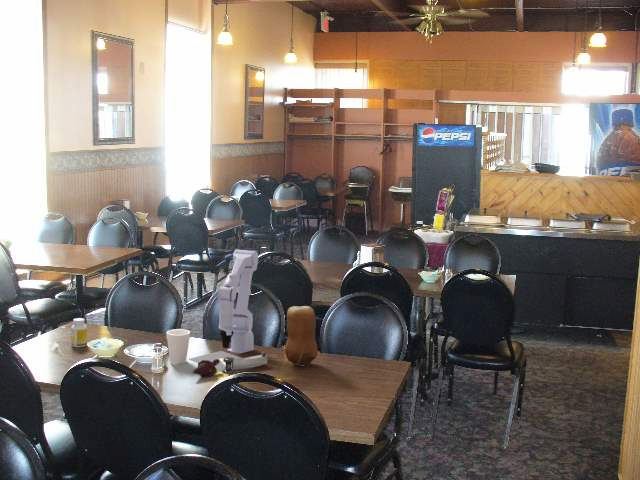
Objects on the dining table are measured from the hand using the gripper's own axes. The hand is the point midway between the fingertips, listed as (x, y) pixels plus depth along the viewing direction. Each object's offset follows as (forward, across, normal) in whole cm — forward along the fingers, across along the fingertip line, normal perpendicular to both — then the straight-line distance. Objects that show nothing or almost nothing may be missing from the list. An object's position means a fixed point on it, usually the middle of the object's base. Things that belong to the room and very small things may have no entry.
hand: (225, 347), depth 320 cm
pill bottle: (+7, +34, +58) cm, 68 cm away
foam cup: (+7, +3, +19) cm, 20 cm away
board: (+6, -1, 0) cm, 6 cm away
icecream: (+7, -16, +10) cm, 20 cm away
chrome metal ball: (+6, -13, +1) cm, 15 cm away
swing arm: (+5, -11, -6) cm, 13 cm away
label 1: (+6, 0, 0) cm, 6 cm away
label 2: (+6, -6, -1) cm, 8 cm away
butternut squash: (+7, -8, -30) cm, 32 cm away
